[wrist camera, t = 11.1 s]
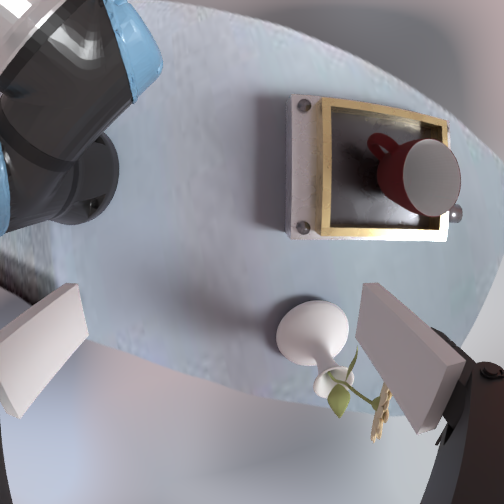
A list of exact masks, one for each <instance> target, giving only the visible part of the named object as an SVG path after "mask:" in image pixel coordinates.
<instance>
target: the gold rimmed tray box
mask: <svg viewBox="0 0 504 504" xmlns="http://www.w3.org/2000/svg"><path fill="white" fill-rule="evenodd" d="M373 133H383V134H385V135H387V136H389V137H391V138H392V139H393V140H395V141H396V142H397V143H398V144H399V145H402V144H404V143H406V142H409V141H412V140H417V139H425V138H432V139H436V140H439V141H441V142H442V143H444V144H445V145H446V146H447V147H448V148H449V149H450V150H451V148H450V126H449V121H448V120H444V119H441V118H437V117H433V116H430V115H426V114H422V113H417V112H413V111H409V110H404V109H400V108H395V107H390V106H385V105H379V104H373V103H367V102H361V101H355V100H347V99H340V98H331V97H322V96H311V95H298V94H291V96H290V97H289V99H288V101H287V103H286V212H285V233H286V234H287V235H288V237H289V238H290V239H291V240H417V241H446V237H447V228H448V222H451V223H458V222H460V221H461V219H462V208H461V206H460V205H458V204H454V206H453V207H452V208H451V209H450V210H449V211H448V212H447V213H446V214H444V215H442V216H439V217H427V216H423V215H419V214H415V213H412V212H410V211H408V210H406V209H404V208H403V207H401V206H400V205H398V204H396V203H395V202H393V201H391V200H390V199H389V198H387V197H386V196H385V195H384V193H383V192H382V190H381V189H380V187H379V184H378V180H377V169H378V165H379V160H378V159H377V158H376V157H375V156H374V155H373V154H372V152H371V151H370V150H369V148H368V146H367V140H368V138H369V136H371V135H372V134H373ZM379 146H380V145H379ZM380 148H381V149H382V150H383V152H384V153H385V154H386V153H388V151H387V150H386V149H385V148H383V147H382V146H380Z"/></svg>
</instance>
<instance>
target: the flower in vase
mask: <svg viewBox="0 0 504 504" xmlns="http://www.w3.org/2000/svg"><path fill="white" fill-rule="evenodd" d="M348 330H349V325H348V320H347V317H346V315H345V313H344V312H343V311H342V310H341V309H340V308H339V307H338V306H337V305H335V304H333V303H331V302H327V301H322V300H314V301H308V302H305V303H302V304H300V305H298V306H296V307H294V308H293V309H291V310H290V311H289V312H288V313H287V314H286V315H285V316H284V317H283V319H282V320H281V322H280V323H279V326H278V328H277V332H276V342H277V346H278V348H279V350H280V352H281V353H282V354H283V355H284V356H285V357H286V358H287V359H288V360H290V361H291V362H293V363H295V364H298V365H303V366H313V365H317V366H318V376H317V378H316V379H315V381H314V385H313V388H314V392H315V393H316V394H317V395H318V396H320V397H322V398H327V400H328V403H329V405H330V407H331V408H332V410H333V411H334V413H335V414H336V415H337V416H338V417H339V418H340V417H341V416H342V415H343V413H344V411H345V409H346V408H347V406H348V403H349V401H350V394H349V392H348V391H347V390H348V389H350V390H351V391H353V392H354V393H355V394H356V395H358V396H359V397H360V398H362V399H363V400H365V401H366V402H368V403H369V404H371V405H372V407H373V409H374V410H375V411H376V412H375V416H374V420H373V425H372V431H371V440H372V441H373V443H374V442H375V439H376V437H377V439H380V438H381V435H382V427H383V422H384V423H386V422H387V420H388V417H389V411H388V406H389V400H390V399H391V397H392V396H393V395H392V393H391V392H390V390H389V389H388V387H387V385H386V384H385V382H384V383H383V387H382V390H381V393H380V396H379V397H377V398H375V399H374V400H373V401H371V400H369V399H368V398H366V397H365V396H363V395H362V394H360V393H359V392H358V391H356V390H355V389H354V388H353V387H351V386H352V384H353V381H354V375H353V372H352V369H353V367H354V364H355V362H356V359H357V353H358V347H357V351H356V355H355V357H354V359H353V361H352V362H351V364H350V366H349V368H347V367H344V366H339V365H338V364H337V363H336V362H335V361H334V359H333V357H334V356H336V355H337V354H338V353H339V352H340V351H341V349H342V348H343V346H344V345H345V343H346V340H347V337H348ZM376 433H377V435H376Z"/></svg>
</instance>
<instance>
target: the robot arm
mask: <svg viewBox="0 0 504 504" xmlns="http://www.w3.org/2000/svg"><path fill="white" fill-rule="evenodd" d="M162 68H163V60H162V56H161V53H160V50H159V48H158V46H157V44H156V42H155V40H154V38H153V36H152V35H151V33H150V31H149V30H148V28H147V26H146V25H145V23H144V22H143V20H142V19H141V17H140V16H139V14H138V13H137V12H136V10H135V9H134V8H133V6H132V5H131V4H130V3H128V2H127V0H0V91H1V92H2V93H3V94H2V96H1V98H0V236H3V234H5V233H8V232H11V231H14V230H17V229H20V228H23V227H27V226H30V225H33V224H36V223H40V222H43V221H46V220H51V221H54V222H57V223H61V224H65V225H77V224H81V223H84V222H87V221H90V220H92V219H94V218H96V217H97V216H98V215H100V214H101V213H102V212H103V211H104V210H105V209H106V207H107V206H108V205H109V203H110V201H111V200H112V198H113V196H114V193H115V191H116V188H117V184H118V178H119V161H118V156H117V152H116V149H115V147H114V145H113V143H112V141H111V140H110V138H109V137H108V136H107V135H106V134H105V133H104V131H105V130H106V129H107V127H108V126H109V125H110V124H111V123H112V122H113V121H114V120H115V119H116V118H117V117H118V116H119V115H120V114H121V113H123V112H124V111H125V110H126V109H127V108H128V107H129V106H130V105H131V104H134V103H135V102H136V101H137V99H138V97H139V96H140V95H141V94H142V93H143V92H144V91H145V90H146V89H147V88H148V87H149V86H150V85H151V84H152V83H153V82H154V81H155V80H156V79H157V78H158V77H159V76H160V74H161V72H162ZM88 335H89V333H88V329H87V325H86V321H85V316H84V312H83V307H82V302H81V297H80V292H79V287H78V284H75V283H65V284H64V285H62V286H61V287H59V288H58V289H56V290H55V291H53V292H52V293H50V294H49V295H48V296H46V297H45V298H43V299H42V300H40V301H39V302H38V303H36V304H35V305H33V306H32V307H31V308H29V309H28V310H27V311H25V312H24V313H22V314H21V315H20V316H18V317H17V318H16V319H14V320H13V321H12V322H11V323H9V324H8V325H7V326H5V327H4V328H2V329H1V330H0V402H1V404H2V406H3V407H4V409H5V411H6V413H8V414H10V415H12V416H14V417H16V418H19V419H20V418H21V417H22V416H23V414H24V413H25V412H26V411H27V409H28V408H29V406H30V405H31V404H32V403H33V401H34V400H35V399H36V398H37V396H38V395H39V394H40V393H41V391H42V390H43V389H44V388H45V386H46V385H47V384H48V383H49V381H50V380H51V379H52V378H53V376H54V375H55V374H56V373H57V372H58V370H59V369H60V368H61V367H62V366H63V364H64V363H65V362H66V361H67V360H68V358H69V357H70V356H71V355H72V354H73V352H74V351H75V350H76V349H77V348H78V347H79V346H80V344H81V343H82V342H83V341H84V340H85V339H86V338H87V337H88ZM355 338H356V339H357V341H358V342H359V344H360V345H361V347H362V348H363V350H364V351H365V353H366V354H367V356H368V357H369V359H370V360H371V362H372V364H373V365H374V367H375V368H376V370H377V371H378V373H379V374H380V376H381V378H382V379H383V381H384V382H385V384H386V385H387V387H388V389H389V390H390V392H391V393H392V395H393V396H394V398H395V400H396V401H397V403H398V404H399V406H400V408H401V409H402V411H403V413H404V414H405V416H406V417H407V419H408V421H409V422H410V424H411V426H412V427H413V429H414V430H415V432H416V434H417V435H418V434H421V433H424V432H427V431H430V430H433V429H435V428H436V427H437V425H438V423H439V421H440V419H441V417H442V415H443V417H444V418H445V419H446V421H447V424H446V426H445V428H444V430H443V432H442V433H441V435H440V437H439V439H438V440H437V442H436V444H435V445H438V444H439V442H440V441H441V442H440V446H439V449H438V453H437V456H436V460H435V463H434V466H433V469H432V472H431V476H430V479H429V481H428V484H427V487H426V490H425V493H424V495H423V498H422V500H421V503H420V504H504V370H503V369H502V368H501V367H500V366H498V365H496V364H494V363H491V362H479V363H475V361H474V360H472V359H471V358H470V357H469V356H468V355H467V354H466V353H465V352H464V351H463V350H462V349H460V348H459V347H458V346H456V344H455V343H454V342H453V341H450V339H449V338H448V337H447V336H446V335H445V334H444V333H442V332H440V331H438V330H436V329H434V328H432V327H431V328H430V327H429V326H428V325H427V324H426V323H424V322H423V321H422V320H421V319H420V318H419V317H418V316H417V315H415V314H414V313H413V312H412V311H411V310H410V309H408V308H407V307H406V306H405V305H404V304H403V303H402V302H400V301H399V300H398V299H397V298H396V297H394V296H393V295H392V294H391V293H390V292H389V291H387V290H386V289H385V288H384V287H383V286H381V285H380V284H379V283H363V288H362V296H361V303H360V310H359V317H358V323H357V330H356V336H355ZM0 504H13V503H12V499H11V494H10V490H9V485H8V480H7V475H6V469H5V463H4V456H3V448H2V438H1V427H0Z"/></svg>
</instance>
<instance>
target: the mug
mask: <svg viewBox="0 0 504 504" xmlns="http://www.w3.org/2000/svg"><path fill="white" fill-rule="evenodd" d="M379 145H380V146H382V147H383V148H385V149H386V150H387V151H388V153H386V154H385V153H384V152H383V150H382V149H381V148H380V146H379ZM367 146H368V148H369V150H370V151H371V152H372V154H373V155H374V156H375V157H376V158H377V159H378V160H379V165H378V169H377V180H378V184H379V187H380V189H381V190H382V192H383V193H384V195H385V196H386V197H387V198H389V199H390V200H391V201H393V202H395V203H396V204H398V205H400V206H401V207H403V208H404V209H406V210H408V211H410V212H412V213H415V214H419V215H423V216H427V217H439V216H442V215H444V214H446V213H447V212H448V211H449V210H450V209H451V208H452V207H453V206H454V204H455V203H456V201H457V198H458V196H459V192H460V187H461V175H460V169H459V165H458V162H457V160H456V158H455V156H454V154H453V153H452V151H451V150H450V149H449V148H448V147H447V146H446V145H445V144H444V143H442V142H441V141H439V140H436V139H432V138H425V139H417V140H412V141H409V142H406V143H404V144H402V145H399V144H398V143H397V142H396V141H395V140H393V139H392V138H391V137H389V136H387V135H385V134H383V133H373V134H372V135H371V136H369V138H368V140H367Z"/></svg>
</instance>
